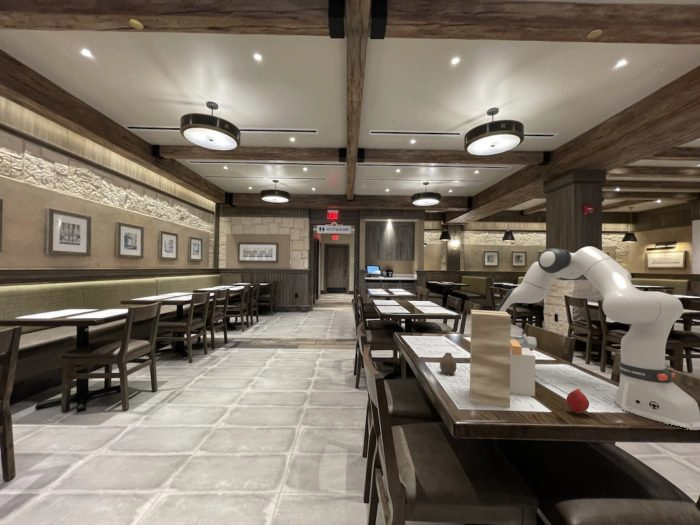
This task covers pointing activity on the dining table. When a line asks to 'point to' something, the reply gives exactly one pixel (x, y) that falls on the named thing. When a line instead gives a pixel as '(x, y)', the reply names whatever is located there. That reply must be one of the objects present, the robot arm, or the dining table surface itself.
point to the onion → (577, 401)
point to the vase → (448, 364)
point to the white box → (522, 373)
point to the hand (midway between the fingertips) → (511, 335)
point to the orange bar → (515, 347)
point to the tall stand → (490, 357)
